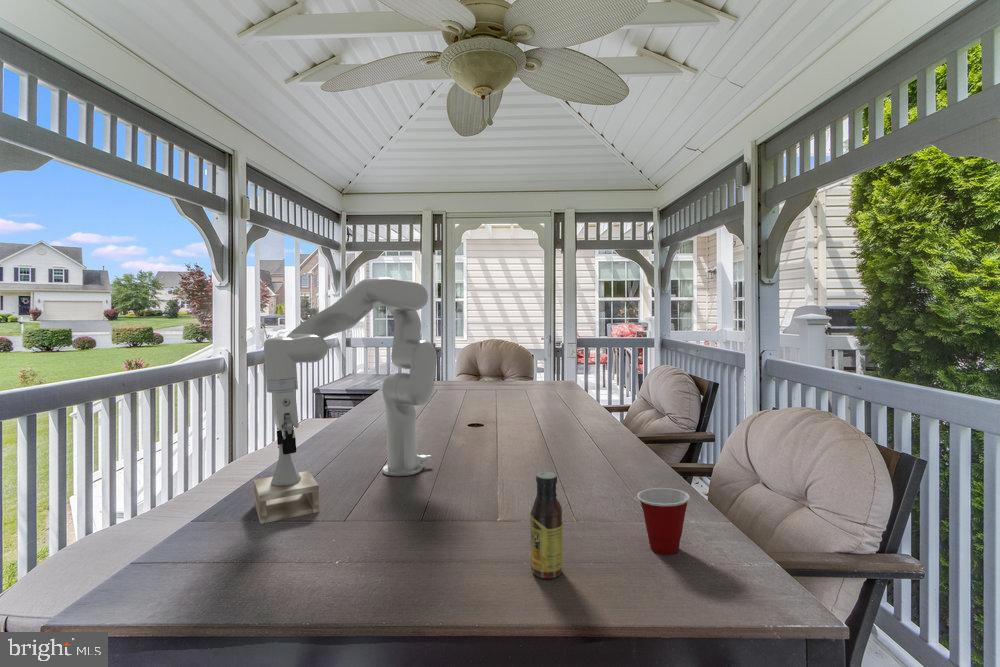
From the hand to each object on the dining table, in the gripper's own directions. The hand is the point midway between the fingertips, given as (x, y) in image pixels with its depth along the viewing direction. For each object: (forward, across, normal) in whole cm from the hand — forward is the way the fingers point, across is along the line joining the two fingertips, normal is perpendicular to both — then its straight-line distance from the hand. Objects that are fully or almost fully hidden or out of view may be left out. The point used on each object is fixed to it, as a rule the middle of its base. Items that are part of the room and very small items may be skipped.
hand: (286, 448), depth 137 cm
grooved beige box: (+16, 0, +1) cm, 16 cm away
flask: (+9, 0, +1) cm, 9 cm away
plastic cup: (+17, -69, -65) cm, 96 cm away
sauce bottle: (+16, -64, -38) cm, 76 cm away
